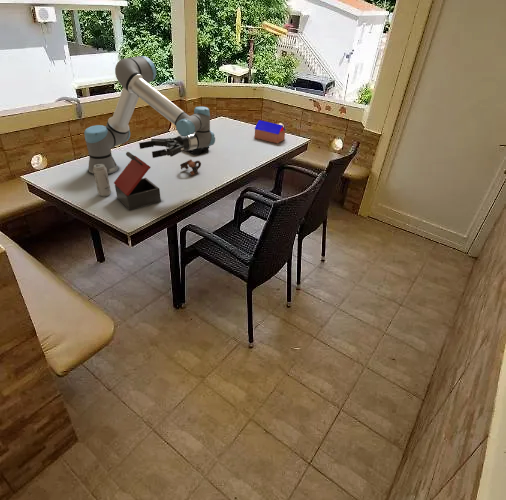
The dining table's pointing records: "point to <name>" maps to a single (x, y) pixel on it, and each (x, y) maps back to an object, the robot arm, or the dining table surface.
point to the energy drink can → (102, 180)
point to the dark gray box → (140, 195)
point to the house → (269, 132)
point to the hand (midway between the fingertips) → (145, 150)
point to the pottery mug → (192, 165)
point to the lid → (131, 174)
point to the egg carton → (196, 151)
